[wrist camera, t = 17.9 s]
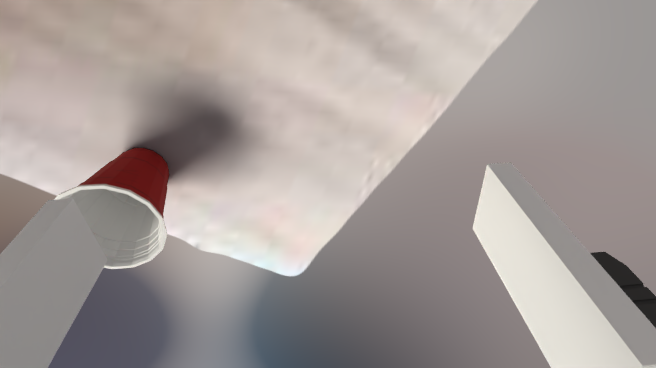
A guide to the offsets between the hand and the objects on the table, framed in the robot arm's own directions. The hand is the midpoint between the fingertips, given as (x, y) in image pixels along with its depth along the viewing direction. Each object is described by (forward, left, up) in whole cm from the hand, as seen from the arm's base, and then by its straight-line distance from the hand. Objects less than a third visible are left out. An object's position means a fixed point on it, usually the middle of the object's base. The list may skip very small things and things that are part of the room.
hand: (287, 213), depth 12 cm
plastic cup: (-20, -16, -31) cm, 40 cm away
